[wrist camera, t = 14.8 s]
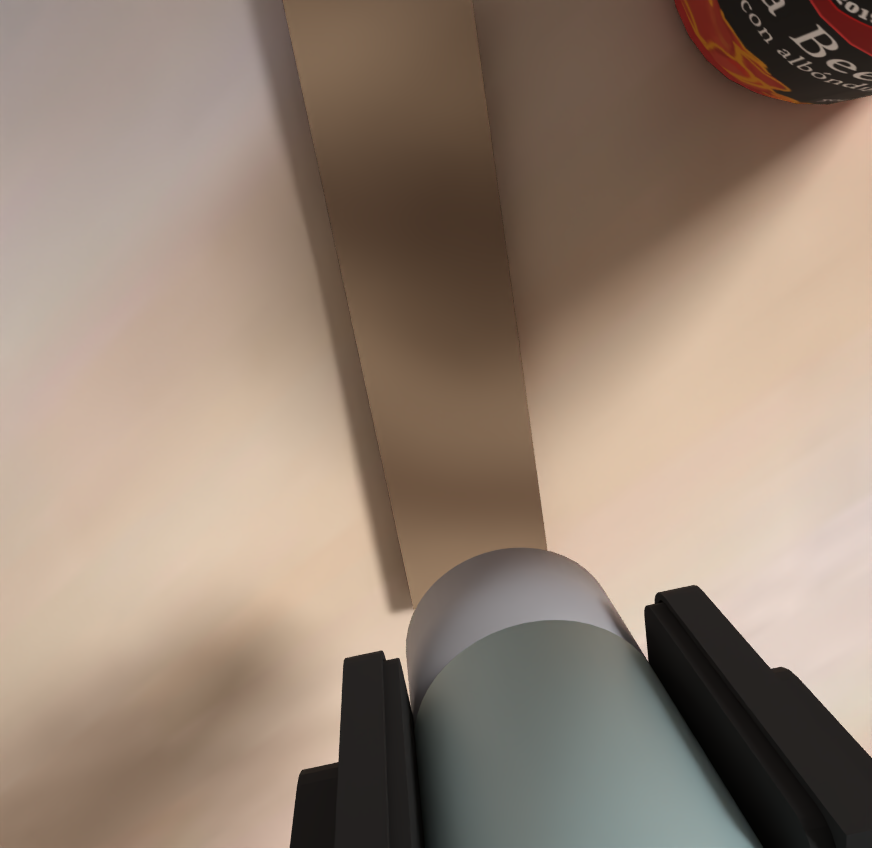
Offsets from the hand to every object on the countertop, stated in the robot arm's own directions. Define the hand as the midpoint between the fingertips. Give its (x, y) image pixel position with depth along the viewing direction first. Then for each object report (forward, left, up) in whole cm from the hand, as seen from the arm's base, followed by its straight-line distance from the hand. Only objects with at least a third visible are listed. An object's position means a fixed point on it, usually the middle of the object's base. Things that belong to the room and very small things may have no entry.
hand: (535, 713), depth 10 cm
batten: (-7, 0, -10) cm, 12 cm away
